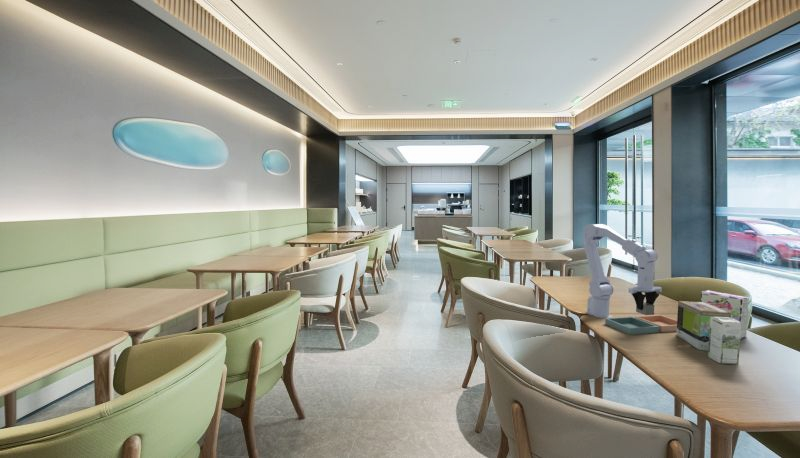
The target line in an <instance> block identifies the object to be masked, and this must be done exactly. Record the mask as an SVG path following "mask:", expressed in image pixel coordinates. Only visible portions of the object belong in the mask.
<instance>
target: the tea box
mask: <svg viewBox="0 0 800 458" xmlns="http://www.w3.org/2000/svg"><path fill="white" fill-rule="evenodd" d="M677 302H678V303H677V317H676V318H677V319H676V320H677V331H676V336H677V337H679V338H681V339H682V340H683V341H685V342H687V343H688V344H690V345H691V346H692V347H694V348H695V349H697V350H700V351H705V352H706V351H707V352H708V345H709V330H710V317H729V318H731V312H729V311H726V310H723V309H721V308H718V307H716V306H713V305H710V304H708V303H705V302H701V301H687V300H686V301H684V300H681V301H680V300H678V301H677Z"/></svg>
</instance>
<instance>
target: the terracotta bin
mask: <svg viewBox="0 0 800 458" xmlns="http://www.w3.org/2000/svg"><path fill="white" fill-rule="evenodd" d="M634 318H637V319H640V320H642V321H645V322H648V323H651V324H653V325H656V326H659V332H660V333H668V332H669V333H670V332H677V319H675V318H671V317H668V316H665V315H663V314H654V315H638V316H637V315H636V316H634Z"/></svg>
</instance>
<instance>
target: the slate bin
mask: <svg viewBox="0 0 800 458" xmlns="http://www.w3.org/2000/svg"><path fill="white" fill-rule="evenodd" d="M604 318H605V319H604V321H605V322H604V324H605V325H607V326H609V327H612V328H613V329H616V330H619V331H621V332H623V333H626V334H628V335H631V336H632V335H642V334H643V335H644V334H654V333H656V334H657V333H659V332H660V331H659V326H656V325H653V324H651V323H648V322H645V321H642V320H640V319H637V318H635V316H627V317H626V316H624V317H621V316H620V317H604Z"/></svg>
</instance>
